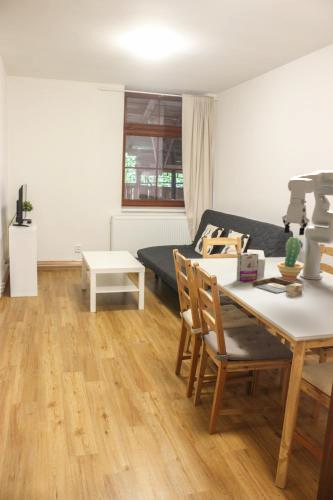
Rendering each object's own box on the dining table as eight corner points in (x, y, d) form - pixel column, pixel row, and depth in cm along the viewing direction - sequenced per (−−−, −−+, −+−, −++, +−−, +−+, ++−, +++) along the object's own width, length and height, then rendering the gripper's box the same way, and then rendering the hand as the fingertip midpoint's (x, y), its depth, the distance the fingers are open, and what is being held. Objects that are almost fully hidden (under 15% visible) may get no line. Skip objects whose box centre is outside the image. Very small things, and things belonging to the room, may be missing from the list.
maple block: (295, 292, 234) (296, 283, 233) (301, 294, 230) (302, 284, 230) (286, 294, 229) (286, 284, 228) (292, 296, 226) (293, 286, 225)
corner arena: (273, 282, 253) (273, 277, 252) (297, 289, 240) (298, 283, 239) (252, 286, 242) (252, 281, 242) (276, 293, 229) (277, 288, 228)
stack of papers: (246, 264, 299) (247, 249, 297) (262, 265, 297) (263, 250, 295) (246, 275, 268) (247, 258, 266) (263, 276, 266) (265, 259, 264)
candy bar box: (253, 279, 257) (255, 252, 254) (257, 281, 253) (259, 253, 250) (235, 280, 254) (237, 252, 251) (239, 282, 250) (241, 254, 247)
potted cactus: (303, 282, 256) (307, 240, 251) (276, 279, 259) (280, 238, 254) (301, 275, 270) (304, 236, 266) (275, 274, 273) (278, 234, 269)
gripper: (315, 203, 227) (311, 235, 230) (288, 201, 241) (285, 231, 244) (306, 203, 223) (302, 236, 226) (279, 200, 237) (276, 232, 239)
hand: (293, 233), depth 235 cm, fingers open, 9 cm apart
